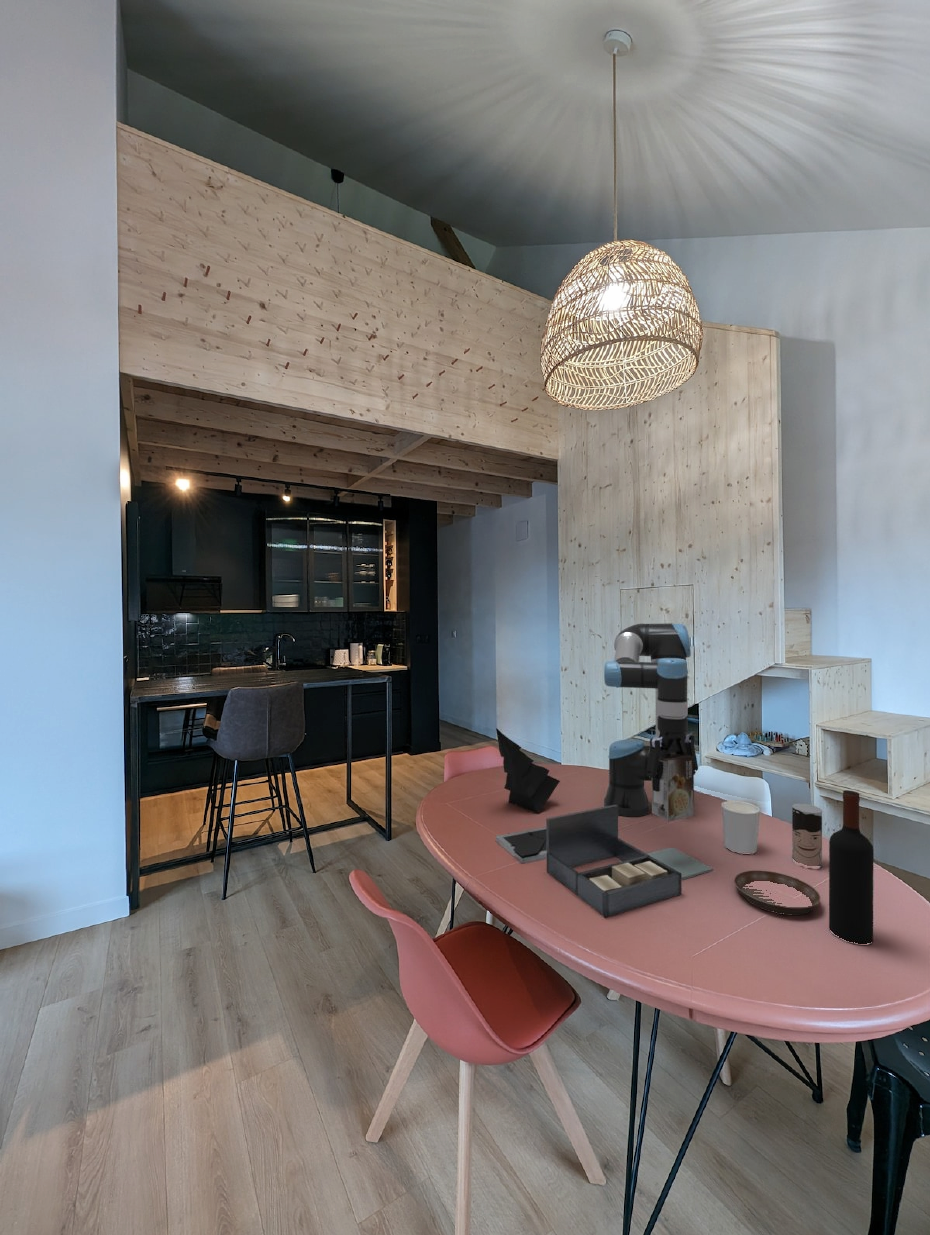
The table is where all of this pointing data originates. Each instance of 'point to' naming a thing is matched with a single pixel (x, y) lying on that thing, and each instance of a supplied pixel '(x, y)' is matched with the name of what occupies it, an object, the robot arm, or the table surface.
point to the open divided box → (597, 840)
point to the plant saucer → (773, 877)
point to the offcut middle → (627, 875)
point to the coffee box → (676, 788)
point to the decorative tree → (524, 777)
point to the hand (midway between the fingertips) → (672, 800)
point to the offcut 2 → (651, 870)
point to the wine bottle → (851, 877)
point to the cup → (807, 834)
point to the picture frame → (525, 844)
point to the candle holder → (740, 826)
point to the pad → (680, 862)
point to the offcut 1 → (605, 883)
